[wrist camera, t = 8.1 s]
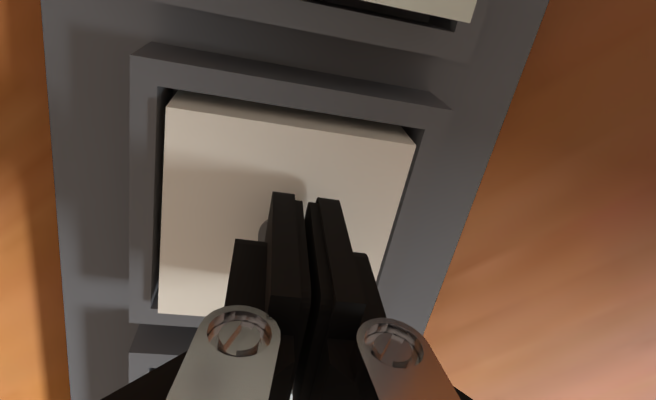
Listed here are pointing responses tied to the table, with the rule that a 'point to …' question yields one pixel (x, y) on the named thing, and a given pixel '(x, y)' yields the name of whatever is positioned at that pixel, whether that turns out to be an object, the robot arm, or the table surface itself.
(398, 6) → the tile two
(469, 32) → the button board
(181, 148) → the tile one
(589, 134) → the table surface
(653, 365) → the table surface
